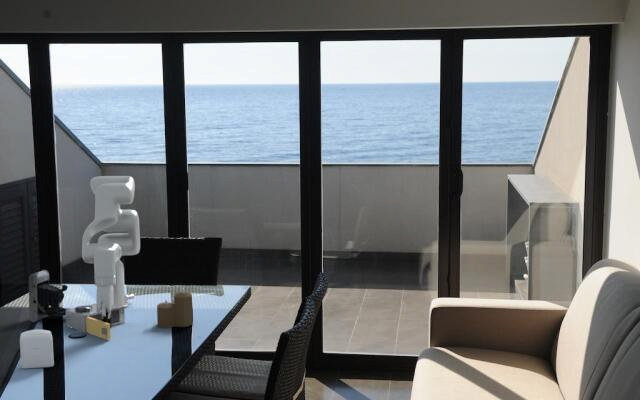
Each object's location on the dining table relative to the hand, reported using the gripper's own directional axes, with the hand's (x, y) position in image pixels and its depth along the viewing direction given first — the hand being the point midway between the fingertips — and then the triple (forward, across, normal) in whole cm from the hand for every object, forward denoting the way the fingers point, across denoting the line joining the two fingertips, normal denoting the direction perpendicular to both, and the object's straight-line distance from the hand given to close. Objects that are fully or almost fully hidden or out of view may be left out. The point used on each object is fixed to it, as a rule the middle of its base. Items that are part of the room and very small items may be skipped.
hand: (106, 328), depth 295 cm
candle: (+4, -15, +25) cm, 29 cm away
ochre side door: (+3, +1, -4) cm, 5 cm away
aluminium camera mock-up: (+3, -17, -7) cm, 19 cm away
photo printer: (+2, +35, -16) cm, 38 cm away
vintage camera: (+4, -25, -26) cm, 36 cm away
